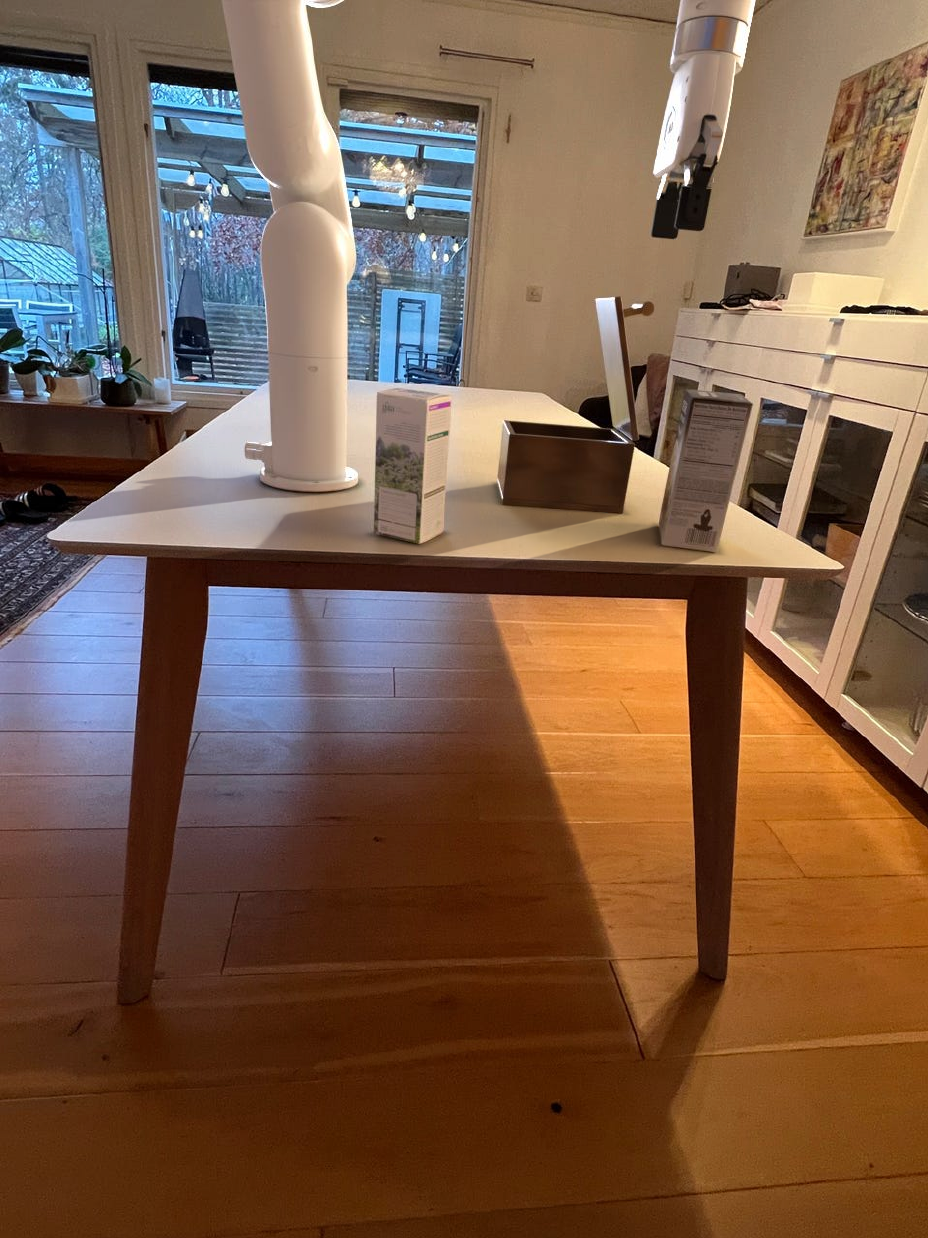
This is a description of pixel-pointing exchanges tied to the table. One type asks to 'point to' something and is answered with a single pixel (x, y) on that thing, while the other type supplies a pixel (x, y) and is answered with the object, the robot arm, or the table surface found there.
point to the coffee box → (703, 468)
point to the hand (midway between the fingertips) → (675, 233)
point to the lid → (619, 359)
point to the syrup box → (411, 463)
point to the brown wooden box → (564, 466)
